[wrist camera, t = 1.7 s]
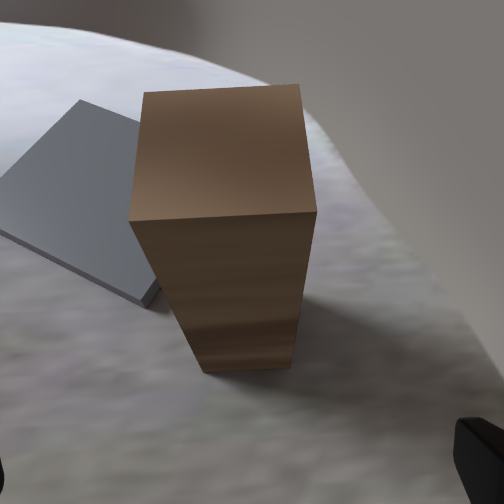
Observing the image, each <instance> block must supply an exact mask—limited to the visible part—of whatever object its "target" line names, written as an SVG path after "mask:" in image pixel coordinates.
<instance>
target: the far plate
mask: <svg viewBox="0 0 504 504" xmlns="http://www.w3.org/2000/svg"><path fill="white" fill-rule="evenodd" d="M139 128H140V122H138V121H135V120H133V119H130V118H127V117H125V116H122V115H120V114H117V113H114V112H112V111H109V110H106V109H104V108H101V107H99V106H96V105H93V104H91V103H88V102H85V101H83V100H79V101H78V102H77V103H76V104H75V105H74V106H73V107H72V108H71V109H70V110H69V111H68V112H67V113H66V114H65V115H64V116H63V117H62V118H61V119H60V120H59V121H58V122H57V123H56V124H54V125H53V126H52V127H51V128H50V129H49V130H48V131H47V132H46V133H45V134H44V135H43V136H42V137H41V138H40V139H39V140H38V141H37V142H36V143H35V144H34V145H33V146H32V147H31V148H30V149H29V150H28V151H27V152H26V153H25V154H24V155H23V156H22V157H21V158H20V159H19V160H18V161H17V162H16V163H15V164H14V165H13V166H12V167H11V168H10V169H9V170H8V171H7V172H6V173H5V174H4V175H3V176H2V177H1V178H0V234H1V235H3V236H5V237H7V238H8V239H10V240H12V241H14V242H16V243H18V244H20V245H22V246H24V247H26V248H28V249H30V250H32V251H34V252H36V253H38V254H40V255H42V256H44V257H46V258H48V259H49V260H51V261H53V262H55V263H57V264H59V265H61V266H63V267H65V268H67V269H69V270H71V271H73V272H75V273H77V274H79V275H81V276H83V277H85V278H87V279H88V280H90V281H92V282H94V283H96V284H98V285H100V286H102V287H104V288H106V289H108V290H110V291H112V292H114V293H116V294H118V295H120V296H122V297H124V298H126V299H127V300H129V301H131V302H133V303H135V304H137V305H139V306H141V307H143V308H145V309H146V308H147V307H148V305H149V304H150V302H151V301H152V299H153V298H154V296H155V295H156V293H157V292H158V290H159V289H160V287H161V286H160V284H159V282H158V280H157V278H156V276H155V274H154V272H153V270H152V268H151V266H150V264H149V262H148V260H147V258H146V256H145V254H144V252H143V250H142V248H141V246H140V244H139V242H138V240H137V238H136V236H135V234H134V232H133V230H132V228H131V226H130V224H129V222H128V219H129V211H130V203H131V195H132V186H133V178H134V170H135V162H136V153H137V145H138V137H139Z"/></svg>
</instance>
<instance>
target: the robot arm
mask: <svg viewBox="0 0 504 504" xmlns="http://www.w3.org/2000/svg"><path fill="white" fill-rule="evenodd" d="M453 457H454V463H455V466H456V469H457V471H458V474H459V476H460V478H461V481H462V483H463V486H464V488H465V490H466V493H467V495H468V498H469V500H470V502H471V504H504V430H503V429H501V428H499V427H497V426H495V425H494V424H492V423H490V422H488V421H486V420H484V419H483V418H480V417H465V418H459V419H458V420H457V422H456V426H455V438H454V450H453ZM3 485H4V471H3V467H2V463H1V459H0V494H1V492H2V489H3Z"/></svg>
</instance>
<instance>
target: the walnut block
mask: <svg viewBox="0 0 504 504" xmlns="http://www.w3.org/2000/svg"><path fill="white" fill-rule="evenodd" d="M316 216H317V207H316V200H315V193H314V186H313V178H312V171H311V164H310V157H309V150H308V143H307V136H306V129H305V122H304V115H303V108H302V101H301V94H300V88H299V84H291V85H272V86H253V87H234V88H215V89H196V90H177V91H158V92H144V95H143V104H142V112H141V120H140V128H139V137H138V145H137V153H136V162H135V170H134V178H133V186H132V195H131V203H130V211H129V219H128V222H129V224H130V226H131V228H132V230H133V232H134V234H135V236H136V238H137V240H138V242H139V244H140V246H141V248H142V250H143V252H144V254H145V256H146V258H147V260H148V262H149V264H150V266H151V268H152V270H153V272H154V274H155V276H156V278H157V280H158V282H159V284H160V286H161V288H162V290H163V292H164V294H165V296H166V298H167V301H168V303H169V305H170V307H171V309H172V311H173V313H174V315H175V317H176V319H177V321H178V323H179V325H180V327H181V329H182V331H183V333H184V335H185V337H186V339H187V341H188V343H189V345H190V347H191V349H192V351H193V353H194V355H195V357H196V359H197V361H198V363H199V365H200V367H201V369H202V371H203V373H204V372H224V371H244V370H264V369H285V368H290V365H291V360H292V354H293V348H294V342H295V337H296V331H297V325H298V319H299V314H300V308H301V302H302V296H303V291H304V285H305V279H306V273H307V267H308V262H309V256H310V250H311V244H312V239H313V233H314V227H315V221H316Z"/></svg>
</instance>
